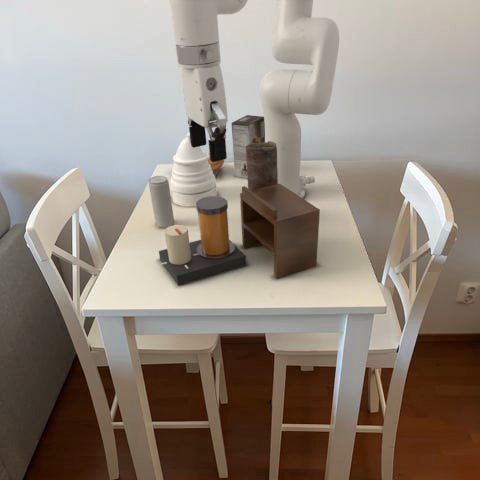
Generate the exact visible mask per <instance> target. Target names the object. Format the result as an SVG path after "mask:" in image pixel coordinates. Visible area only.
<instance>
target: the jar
mask: <svg viewBox="0 0 480 480" xmlns="http://www.w3.org/2000/svg"><path fill="white" fill-rule="evenodd" d="M195 208H196V209H195V210H196V212H197V217H198V225H199V234H200V235H199V236H200V240H201V245H202V251H203V252H204V253H206V254H209V255H219V254H223V253H225V252H227V251H228V250H229V248H230V245H229V240H230V233H229V231H230V230H229V218H228V217H229V216H228V208H229V205H228V200H227V199H226V198H225V197H224V196H223V197H222V196H219V195H217V196H209V197H204V198H202V199H199V200H198V201H197V202H196V206H195Z"/></svg>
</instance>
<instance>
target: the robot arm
mask: <svg viewBox="0 0 480 480" xmlns="http://www.w3.org/2000/svg"><path fill="white" fill-rule="evenodd" d="M248 1H249V0H169V3H170V10H171V11H170V12H171V19H172V27H173V34H174V42H175V52H176V58H177V66H178V67H179V68H181V77H182V78H181V79H182V90H183V91H182V93H183V101H184V107H185V112H186V115H187V124H188V130H189V132H188V133H190V140H191V146H192V147H193V148H194V147H199V146H200V147H203V146H207V141H208V151H209V152H208V153H210V160H211V161H212V162H216V161H220V160H224V161H225V160H226V159H227V158H228V156H227V155H228V153H227V143H226V139H227V135H226V133H227V123H228V120H229V116H228V115H229V114H228V108H227V107H228V106H227V97H226V91H225V84H224V77H223V73H222V68H221V65H220V64H221V61H222V60H221V47H220V36H219V35H220V34H219V23H218V21H219V20H218V15H219V16H221V15H222V16H223V15H234V14H237V13H239V12H240V11H241V10H243V9H244V8H245V6H246V5H247V3H248ZM313 5H314V0H276V4H275V11H274V21H273V30H272V39H271V54H272V57H273V58H274V60H275V61H276V62H278V63H281V64H288V65H304V66H305V65H307V66H312V70H302V69H283V68H282V69H281V68H279V69H273V70H271V71H269V72H267V73H266V74H265V75H263V77H262V79H261V82H260V87H259V94H260V102H261V107H262V113H263V117H264V124H265V142H268V141H271V142H274V143H276V147H277V172H278V184H281V185H283V186H284V187H286V188H287V189H289V190H290V191H292V192H293V193H295V194H297V195H298V196H300V197H301V198H303V199H304V197H305V194H306V189H305V186H306V185H312V184H314V183H315V182H316V178H315V176H314V175H311V176H308V177H307V176H306V175H305V174H303V175H301V157H302V154H301V153H302V126H301V123H300V121H299V119H298V118H297V115H296V114H298V115H308V116H318V115H322V114H324V113H325V112H326V111H327V109H328V108H329V105H330V102H331V98H332V93H333V88H334V87H333V86H334V80H335V74H336V69H337V61H338V55H339V48H340V31H339V27H338V24H337V22H336V21H334V19H332V18H329V17H312V13H313ZM213 129H214V130H213ZM206 131H207V133H206ZM207 134H208V137H209V139H208V140H207Z"/></svg>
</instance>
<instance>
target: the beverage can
mask: <svg viewBox="0 0 480 480" xmlns="http://www.w3.org/2000/svg"><path fill="white" fill-rule="evenodd" d="M148 188H149V193H150V199H151V205H152V210H153V216H154V222H155V225H156V226H157V227H158V228H161V229H166V228H167V227H169V226H173V225H174V223H175V217H174V216H175V215H174V209H173V203H172V195H171V188H170V181H169V180H168V177H167V176H165V175H156V176H152V177H150V178H149V179H148Z"/></svg>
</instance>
